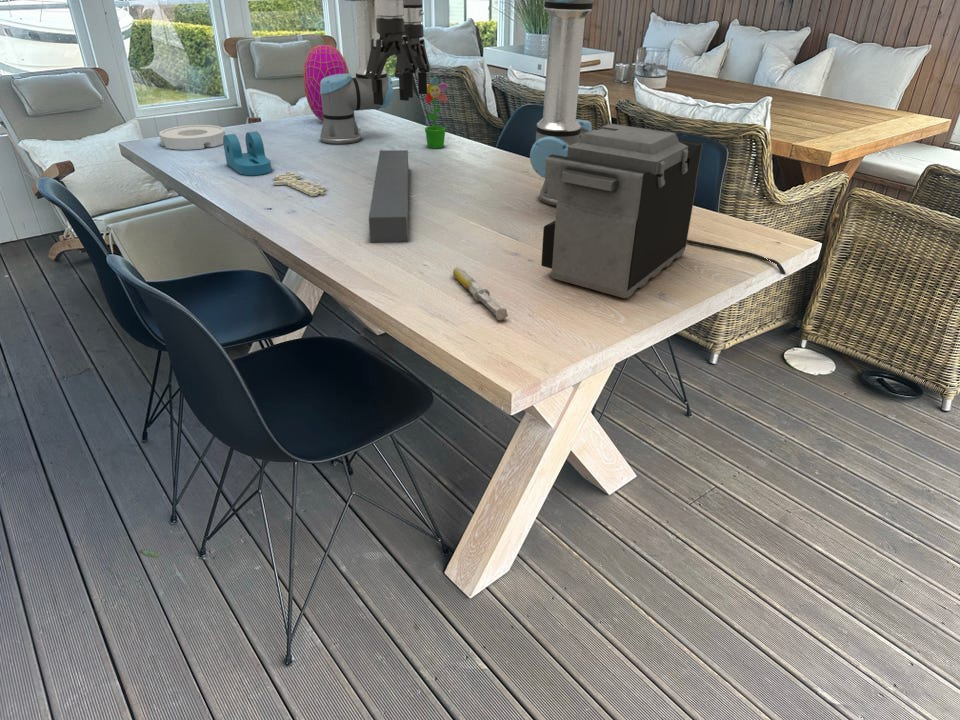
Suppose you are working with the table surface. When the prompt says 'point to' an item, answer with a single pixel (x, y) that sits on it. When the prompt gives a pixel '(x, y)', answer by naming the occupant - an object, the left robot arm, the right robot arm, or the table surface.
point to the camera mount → (246, 154)
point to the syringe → (479, 293)
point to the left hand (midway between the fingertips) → (413, 97)
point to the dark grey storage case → (619, 207)
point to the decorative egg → (321, 73)
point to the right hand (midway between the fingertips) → (393, 100)
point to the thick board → (390, 198)
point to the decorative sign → (299, 184)
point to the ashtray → (192, 137)
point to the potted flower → (435, 133)
